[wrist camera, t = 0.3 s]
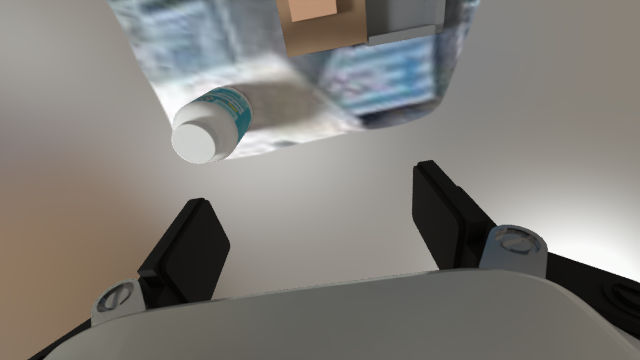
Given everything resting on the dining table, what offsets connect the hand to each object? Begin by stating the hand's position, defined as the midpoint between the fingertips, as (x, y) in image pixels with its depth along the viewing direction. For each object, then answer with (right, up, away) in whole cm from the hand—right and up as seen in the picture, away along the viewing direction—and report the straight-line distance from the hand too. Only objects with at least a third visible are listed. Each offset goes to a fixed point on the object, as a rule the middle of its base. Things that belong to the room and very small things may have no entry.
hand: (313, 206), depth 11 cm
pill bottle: (-14, +12, +27) cm, 33 cm away
